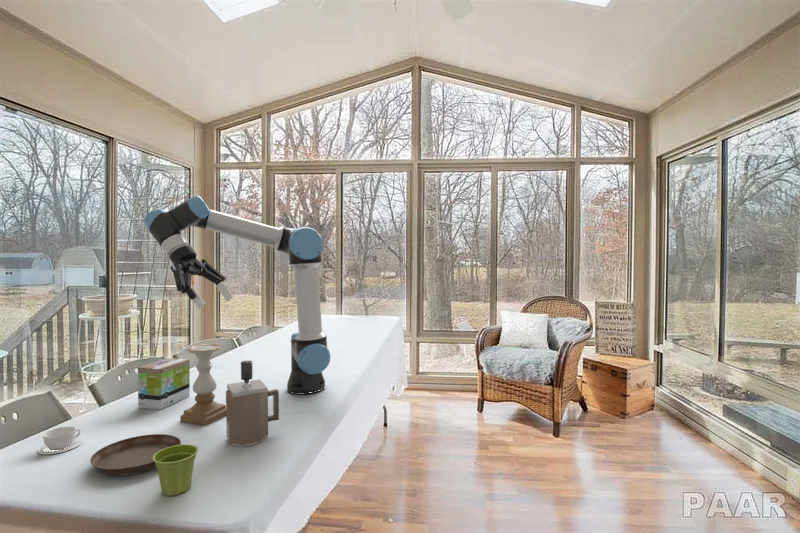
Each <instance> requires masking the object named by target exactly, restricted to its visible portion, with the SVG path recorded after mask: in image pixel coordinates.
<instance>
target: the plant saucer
mask: <svg viewBox="0 0 800 533" xmlns="http://www.w3.org/2000/svg"><path fill="white" fill-rule="evenodd" d="M175 445H182V440H181V439H180V438H179V437H177V436H175V435H170V434H162V433H159V434H158V433H156V434H155V433H153V434H145V435H137V436H133V437H129V438H124V439H121V440H118V441H115V442H112V443H110V444H107V445H106V446H104V447H102V448H100V449H98V450H97V451H95V452H94V453H93V454H92V456H91V457H90V459H89V462H90V464H91V466H93V467H94V469H96V470H97V471H99V472H101V473H103V474H106V475H108V476H116V477H117V476H118V477H120V476H121V477H122V476H131V475H137V474H141V473H145V472H148V471H150V470H153V469H157V467H156V464H155V462H154V461H153V456H154V454H155V453H157V452H158V451H160V450H162V449H165V448H167V447H171V446H175Z"/></svg>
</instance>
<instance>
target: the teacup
mask: <svg viewBox="0 0 800 533" xmlns="http://www.w3.org/2000/svg"><path fill="white" fill-rule="evenodd" d="M77 431H78V433H77ZM76 433H77V434H76ZM80 435H81V429H79V428H76V427H75V426H61V427H57V428H53V429H50V430H48V431H46V432H45V433H43V434H42V438H43V443H44V445H42V446H41V447H39V448H38V449H39V450H40V451H39V450H38V449H37V454H39V455H55V454H60V453H61V454H62V453H63V452H67V451H70V450H73V449H75V448H76V447H79V446H80V445H81V444H82V442H83V441H82V439H79V438H78V437H79V436H80ZM68 446H69V447H68ZM47 447H48V448H49V449H50V450H59V451H54V452H52V451H51V452H49V451H48V452H47V451H46V452H44V451H43V449H45V448H47ZM66 447H67V448H66ZM64 448H65V449H64ZM60 449H61V450H60Z"/></svg>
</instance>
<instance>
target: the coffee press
mask: <svg viewBox="0 0 800 533" xmlns="http://www.w3.org/2000/svg"><path fill="white" fill-rule="evenodd" d="M226 388H227V389H226V390H225V405H226V416H225V419H226V439H227V444H228V445H229V446H232V447H244V446H245V447H251V446H254V444H255V445H258V444H261V443H262V442H263V440H264V441H265V440H266V439H267V438H268V436H269V422H275V421H279V420H280V403H279V402H280V400H279V399H280V397H279V396H280V395H279V394H280V391H279V390H278V389H276V388H275V389H271V390H268V387H267V386H266V384H264V382H263V381H262V380H261V379H260V378H259V379H253V380H252V379H251V380H250V387H245V388H244V381H240V382H232V383H227V384H226ZM244 395H245V396H244ZM269 397H272V399H273V400H272V411H273V412H272V414H270V415H269ZM257 443H258V444H257Z"/></svg>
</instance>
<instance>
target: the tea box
mask: <svg viewBox="0 0 800 533" xmlns="http://www.w3.org/2000/svg"><path fill="white" fill-rule="evenodd" d="M190 363H191V362H190V359H188V358H187V359H185V358H174V357H173V358H171V357H168V358H164V359H161V360H158V361H155V362H152V363H149V364H146V365H145V364H144V365H142V366H139V367H138V368H137V370H138V372H137V373H138V374H137V375H138V377H137V381H138V382H137V383H138V384H137V386H138V387H137V393H138V394H137V398H138V399H137V407H138V408H141V409H149V410H150V409H151V410H161V411H162V410H163V409H164V408H167V407H169V406H171V405H172V404H173V405H174V404H175V403H177V402H180V401H182V400H184V399H186V398H189V397H190V391H191V390H190V384H191V383H190V380H191V379H190V374H191V372H190V368H191V367H190V366H191V364H190Z"/></svg>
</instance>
